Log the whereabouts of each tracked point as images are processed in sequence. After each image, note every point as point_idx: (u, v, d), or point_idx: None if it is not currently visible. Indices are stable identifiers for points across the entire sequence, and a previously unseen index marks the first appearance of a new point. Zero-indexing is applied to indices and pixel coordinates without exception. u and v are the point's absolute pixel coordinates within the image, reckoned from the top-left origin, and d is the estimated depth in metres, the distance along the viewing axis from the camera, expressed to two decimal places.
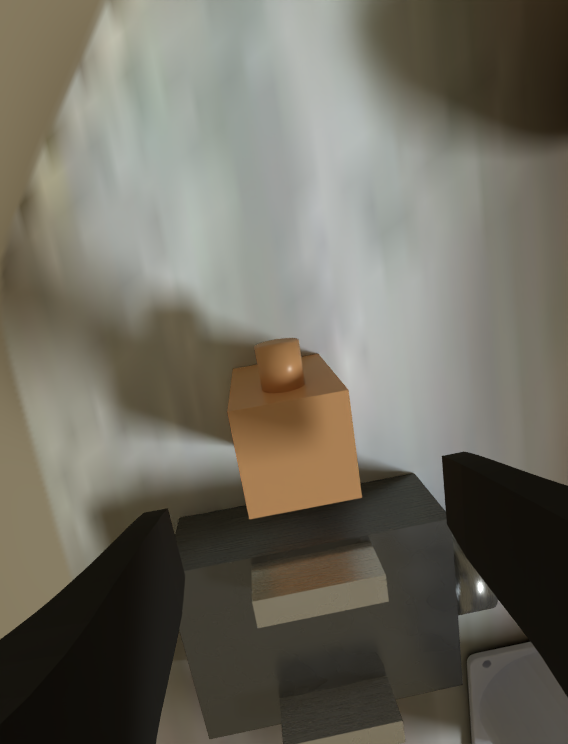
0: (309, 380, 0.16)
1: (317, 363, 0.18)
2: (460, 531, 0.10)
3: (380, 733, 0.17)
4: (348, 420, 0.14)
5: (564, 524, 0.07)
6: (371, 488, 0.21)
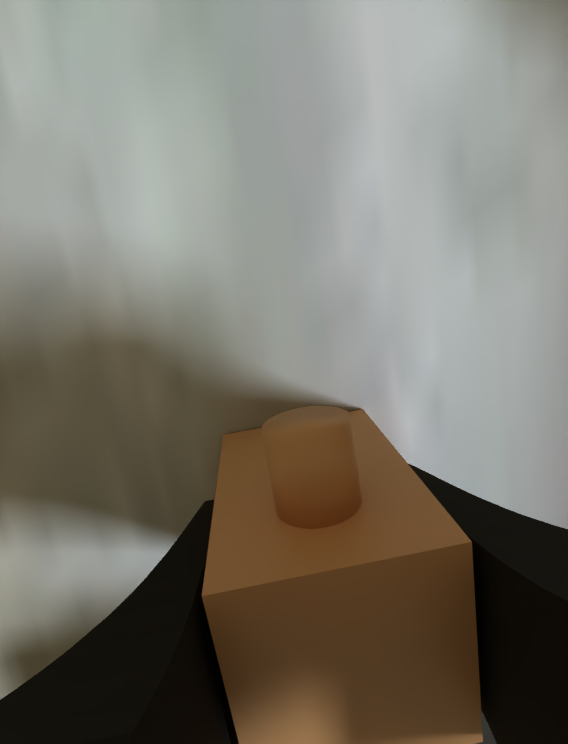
0: (368, 489, 0.08)
1: (369, 435, 0.10)
2: None
3: None
4: (466, 601, 0.07)
5: None
6: None
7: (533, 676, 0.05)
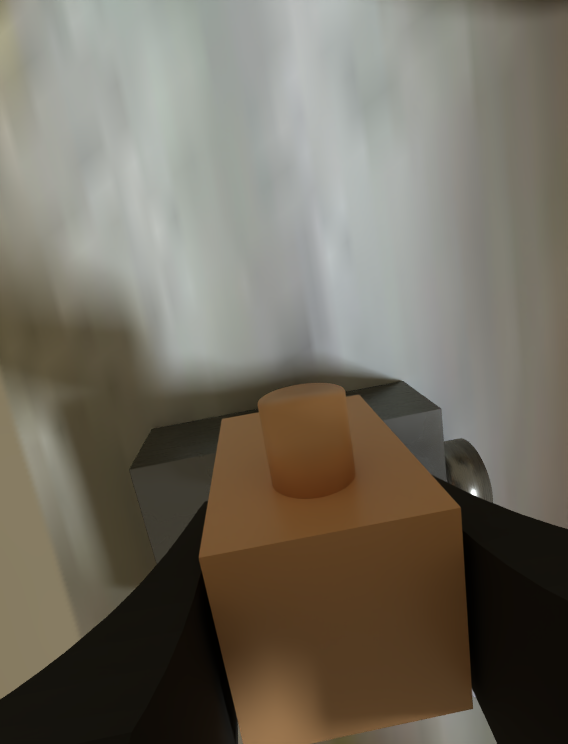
0: (362, 464, 0.08)
1: (364, 417, 0.10)
2: None
3: None
4: (456, 566, 0.07)
5: (471, 543, 0.07)
6: (357, 394, 0.19)
7: (534, 676, 0.05)
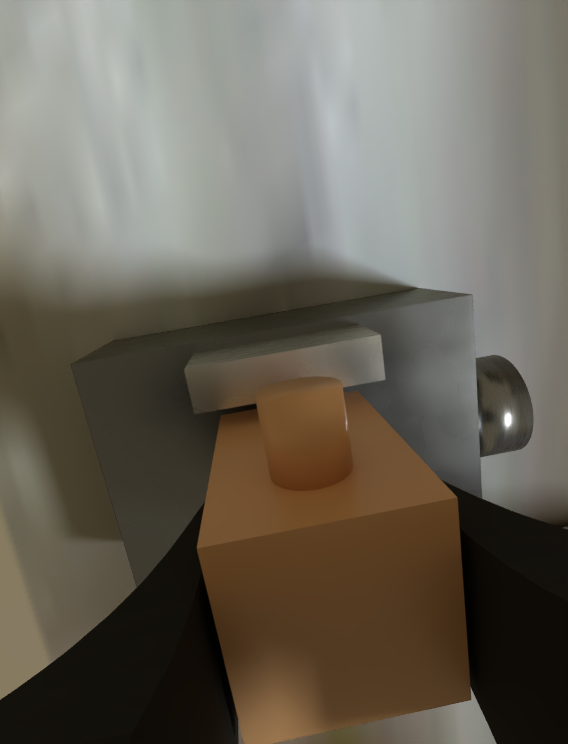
0: (360, 456, 0.08)
1: (362, 412, 0.10)
2: None
3: None
4: (453, 557, 0.07)
5: (471, 543, 0.07)
6: (363, 299, 0.16)
7: (533, 676, 0.05)
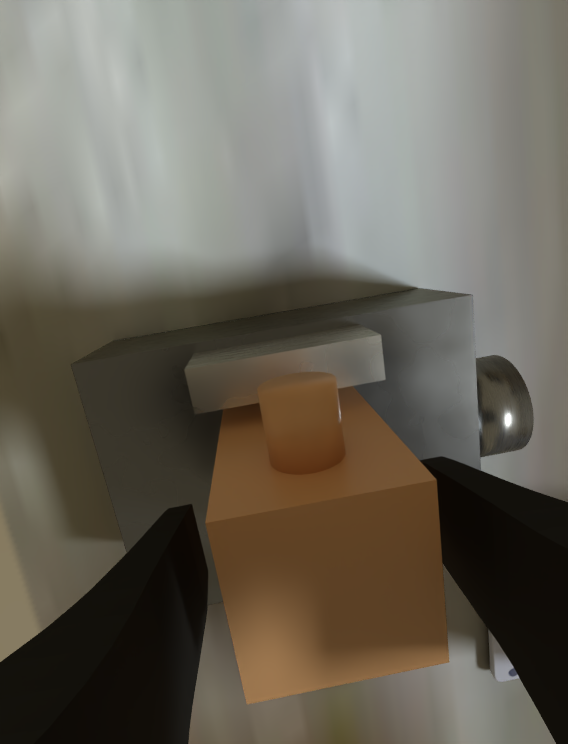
0: (352, 445, 0.09)
1: (356, 405, 0.11)
2: None
3: None
4: (433, 533, 0.08)
5: (527, 532, 0.07)
6: (363, 299, 0.16)
7: None
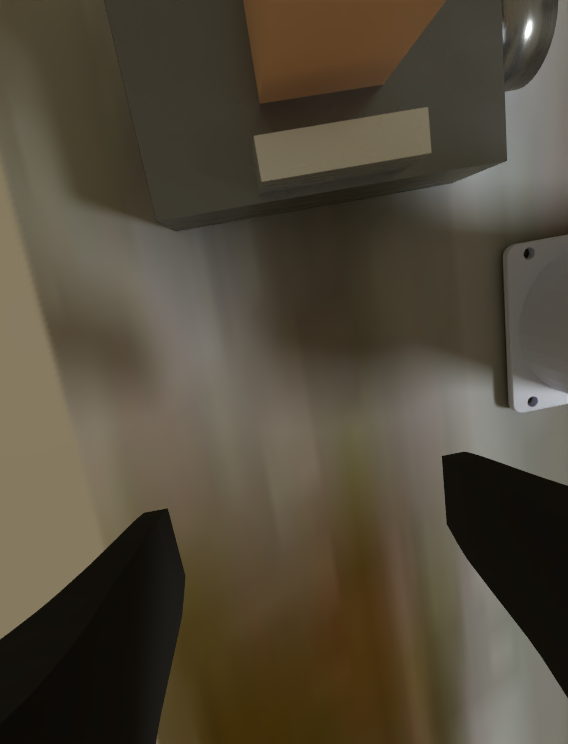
0: None
1: None
2: (460, 531, 0.10)
3: (395, 129, 0.12)
4: None
5: (564, 524, 0.07)
6: None
7: None
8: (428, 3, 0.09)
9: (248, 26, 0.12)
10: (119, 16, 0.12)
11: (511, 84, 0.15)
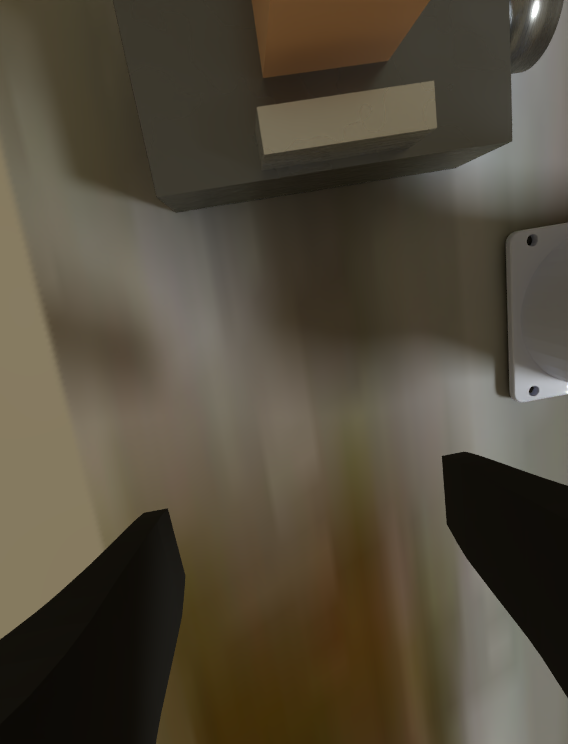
0: None
1: None
2: (460, 531, 0.10)
3: (401, 103, 0.12)
4: None
5: (564, 524, 0.07)
6: None
7: None
8: None
9: None
10: None
11: (517, 65, 0.15)
